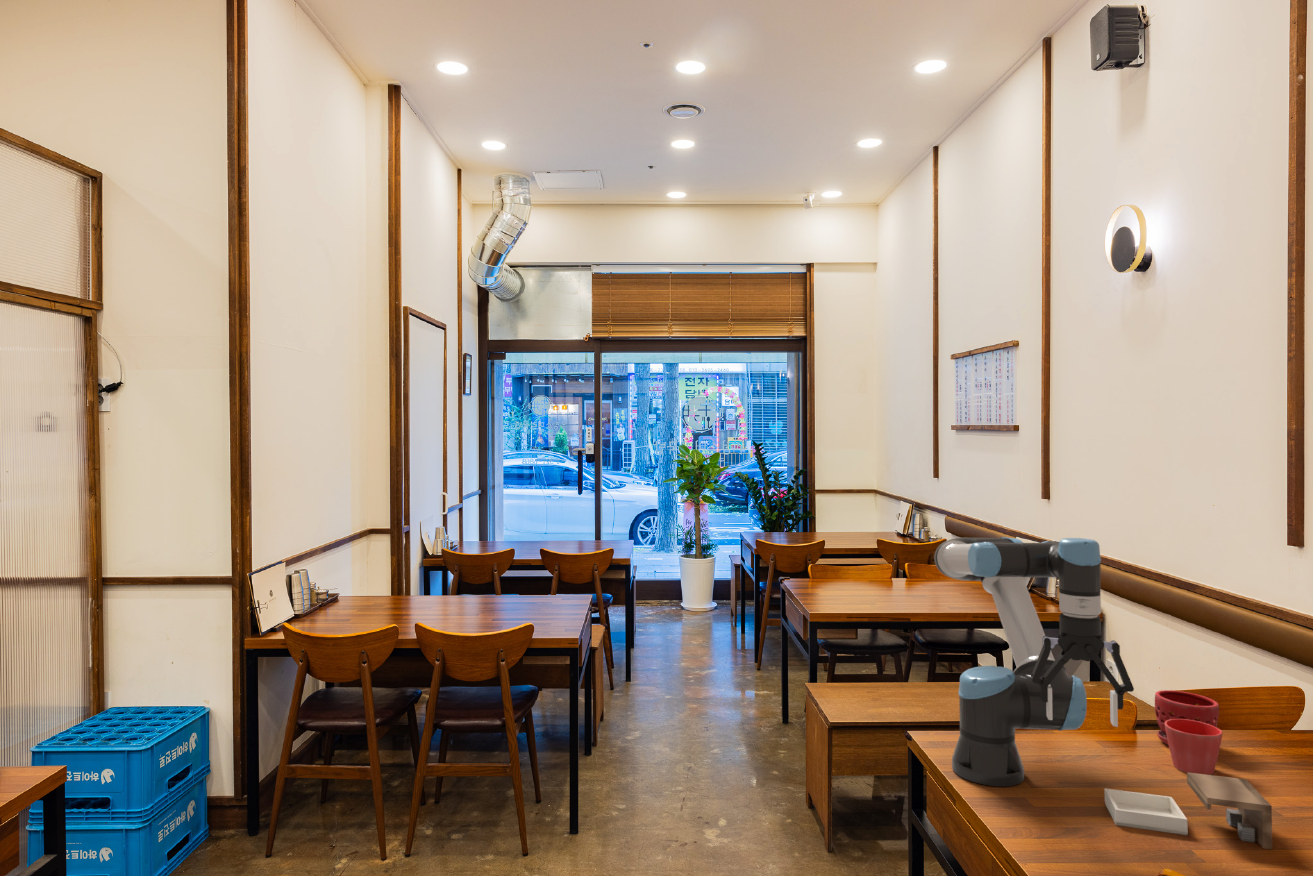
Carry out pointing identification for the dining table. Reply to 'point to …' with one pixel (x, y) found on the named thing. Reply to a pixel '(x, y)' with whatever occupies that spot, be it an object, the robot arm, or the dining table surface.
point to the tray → (1145, 811)
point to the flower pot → (1193, 745)
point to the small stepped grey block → (1240, 825)
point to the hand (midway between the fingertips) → (1081, 721)
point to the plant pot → (1183, 709)
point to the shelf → (1236, 801)
